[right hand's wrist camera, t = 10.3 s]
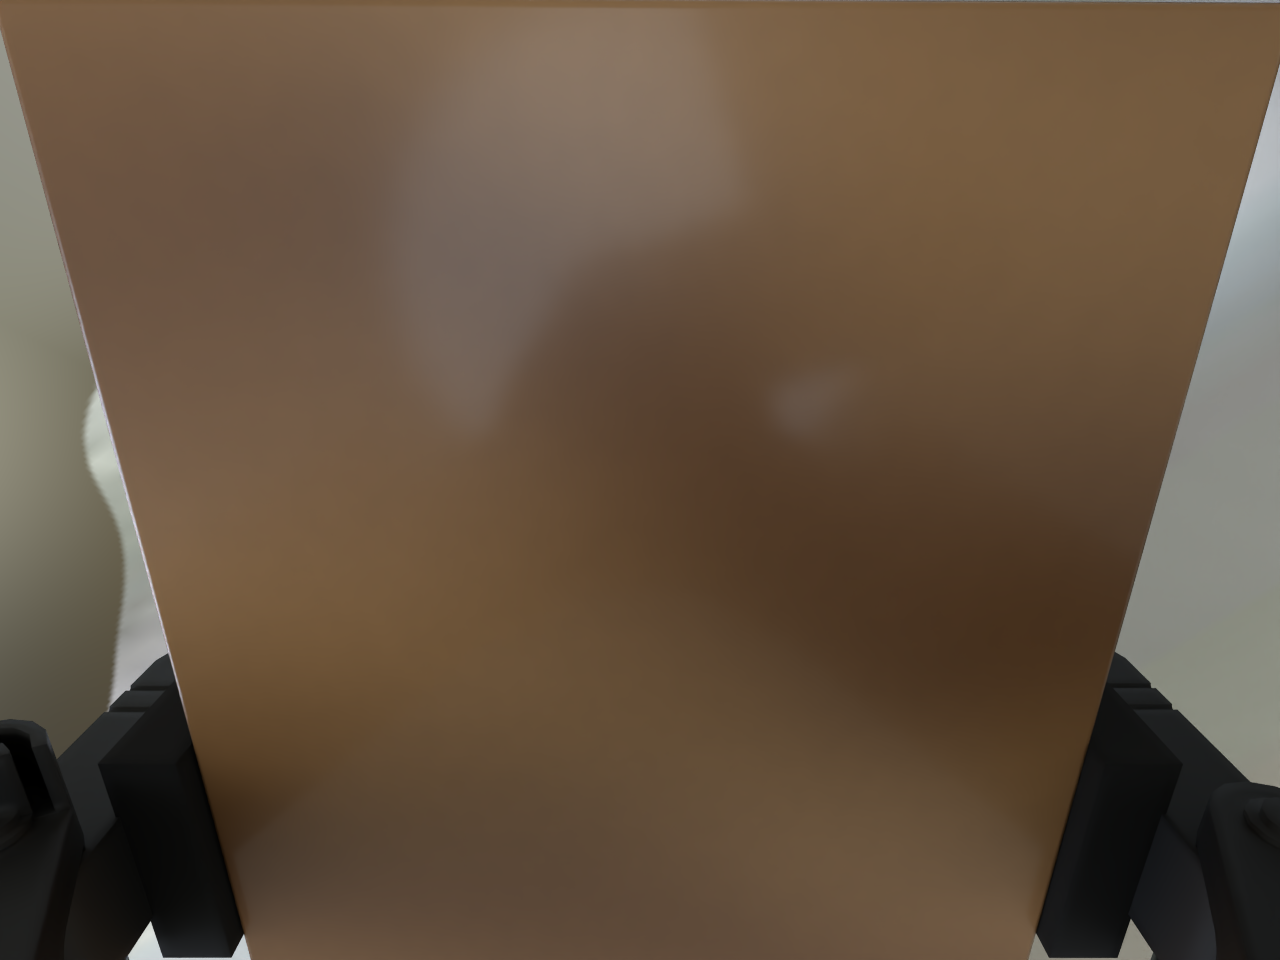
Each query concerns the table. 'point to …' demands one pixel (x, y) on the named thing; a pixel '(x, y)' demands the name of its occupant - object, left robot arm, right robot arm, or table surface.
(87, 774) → the right robot arm
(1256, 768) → the table surface
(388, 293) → the slab
